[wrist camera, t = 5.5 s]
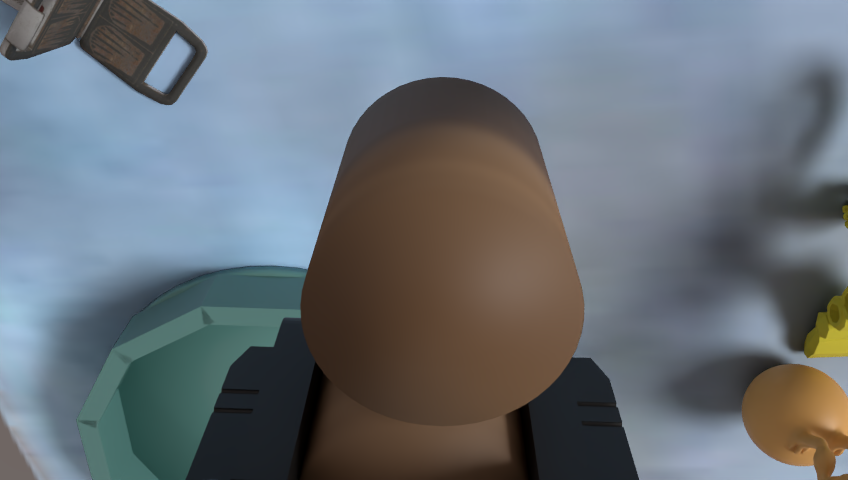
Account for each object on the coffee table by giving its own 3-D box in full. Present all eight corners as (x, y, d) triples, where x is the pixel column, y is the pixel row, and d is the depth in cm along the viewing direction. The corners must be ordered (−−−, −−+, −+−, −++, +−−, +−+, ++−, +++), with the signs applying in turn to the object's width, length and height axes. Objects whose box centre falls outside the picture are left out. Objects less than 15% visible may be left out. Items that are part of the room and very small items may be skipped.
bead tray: (74, 259, 29) (40, 298, 27) (474, 272, 29) (477, 313, 27) (139, 532, 37) (117, 582, 34) (456, 543, 37) (456, 594, 34)
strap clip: (-57, -54, 24) (-149, -32, 20) (-19, -135, 23) (-110, -128, 19) (173, 108, 26) (128, 153, 23) (217, 42, 25) (178, 79, 22)
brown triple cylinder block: (348, 65, 11) (304, 176, 8) (560, 89, 11) (614, 208, 8) (323, 509, 16) (288, 704, 12) (472, 524, 16) (480, 721, 12)
